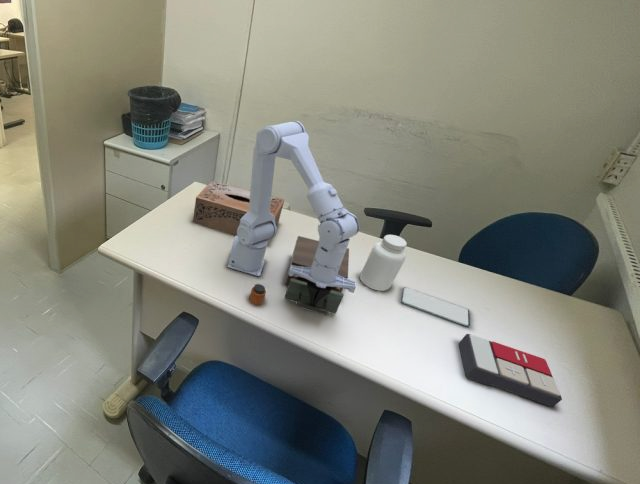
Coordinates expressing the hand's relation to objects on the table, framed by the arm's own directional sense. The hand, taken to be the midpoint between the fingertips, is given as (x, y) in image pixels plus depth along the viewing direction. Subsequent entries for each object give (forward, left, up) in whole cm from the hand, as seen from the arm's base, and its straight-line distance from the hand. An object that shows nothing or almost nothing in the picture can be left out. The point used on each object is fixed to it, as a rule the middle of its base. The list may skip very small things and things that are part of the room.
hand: (312, 303), depth 99 cm
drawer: (0, +7, -3) cm, 8 cm away
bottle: (-13, 0, -4) cm, 14 cm away
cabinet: (0, +17, -4) cm, 17 cm away
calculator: (+41, +2, -5) cm, 41 cm away
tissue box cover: (-27, +35, -5) cm, 44 cm away
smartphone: (+30, +19, -5) cm, 35 cm away
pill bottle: (+16, +23, -5) cm, 28 cm away
